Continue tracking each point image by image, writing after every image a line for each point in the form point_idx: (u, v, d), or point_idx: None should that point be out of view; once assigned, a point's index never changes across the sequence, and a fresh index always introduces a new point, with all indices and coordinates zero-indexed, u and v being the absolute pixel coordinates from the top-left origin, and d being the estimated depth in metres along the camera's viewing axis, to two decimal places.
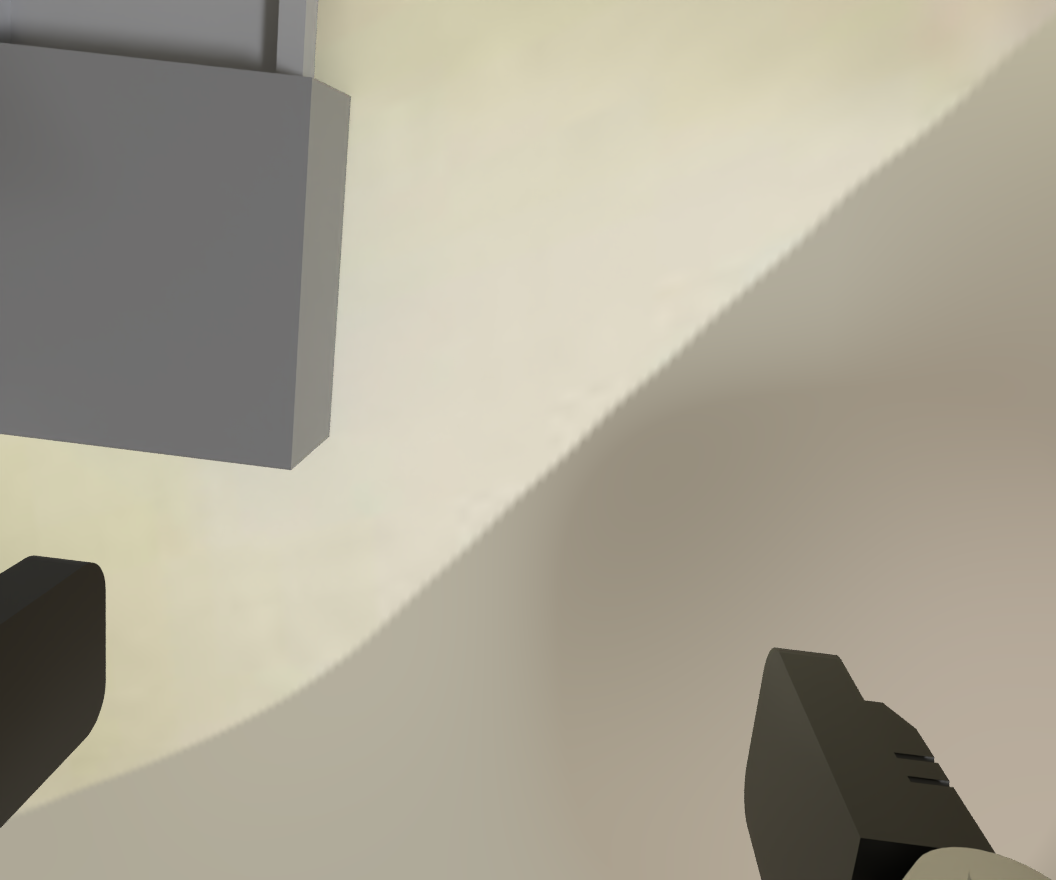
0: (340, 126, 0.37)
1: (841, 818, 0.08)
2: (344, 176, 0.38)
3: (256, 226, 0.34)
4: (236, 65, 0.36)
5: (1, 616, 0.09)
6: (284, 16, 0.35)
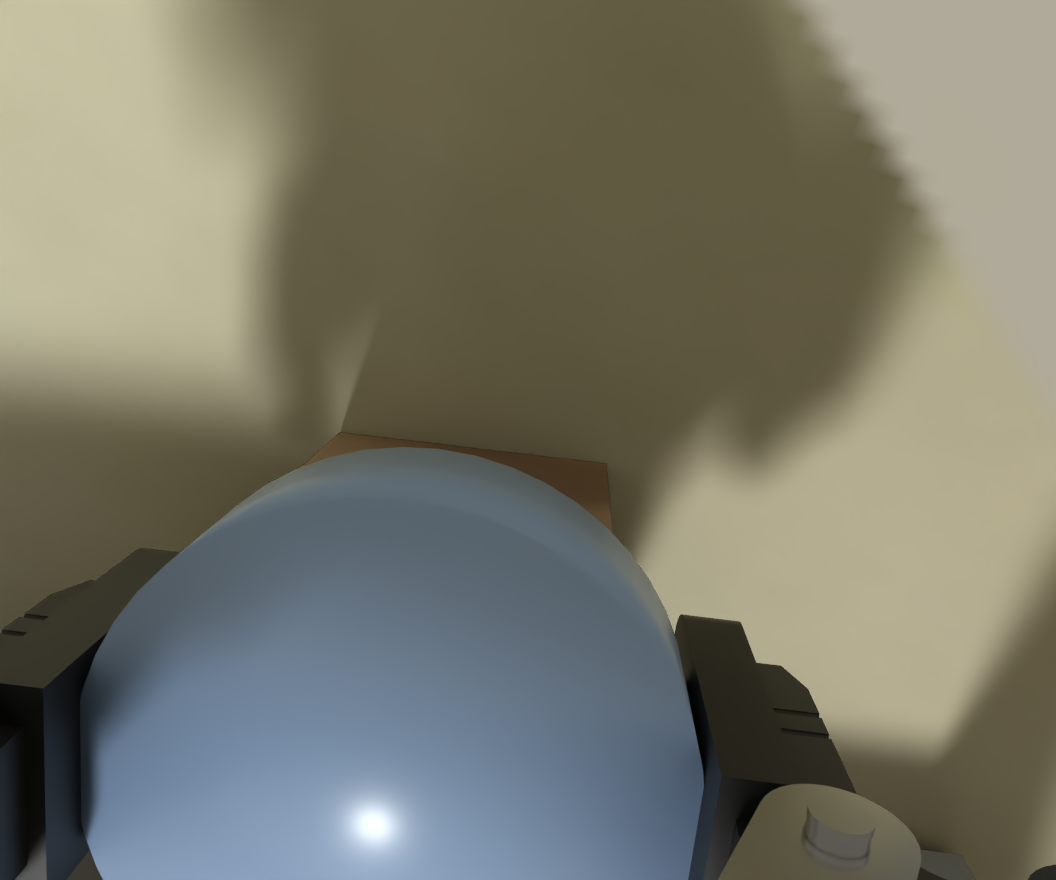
0: None
1: (711, 762, 0.09)
2: None
3: None
4: None
5: None
6: None
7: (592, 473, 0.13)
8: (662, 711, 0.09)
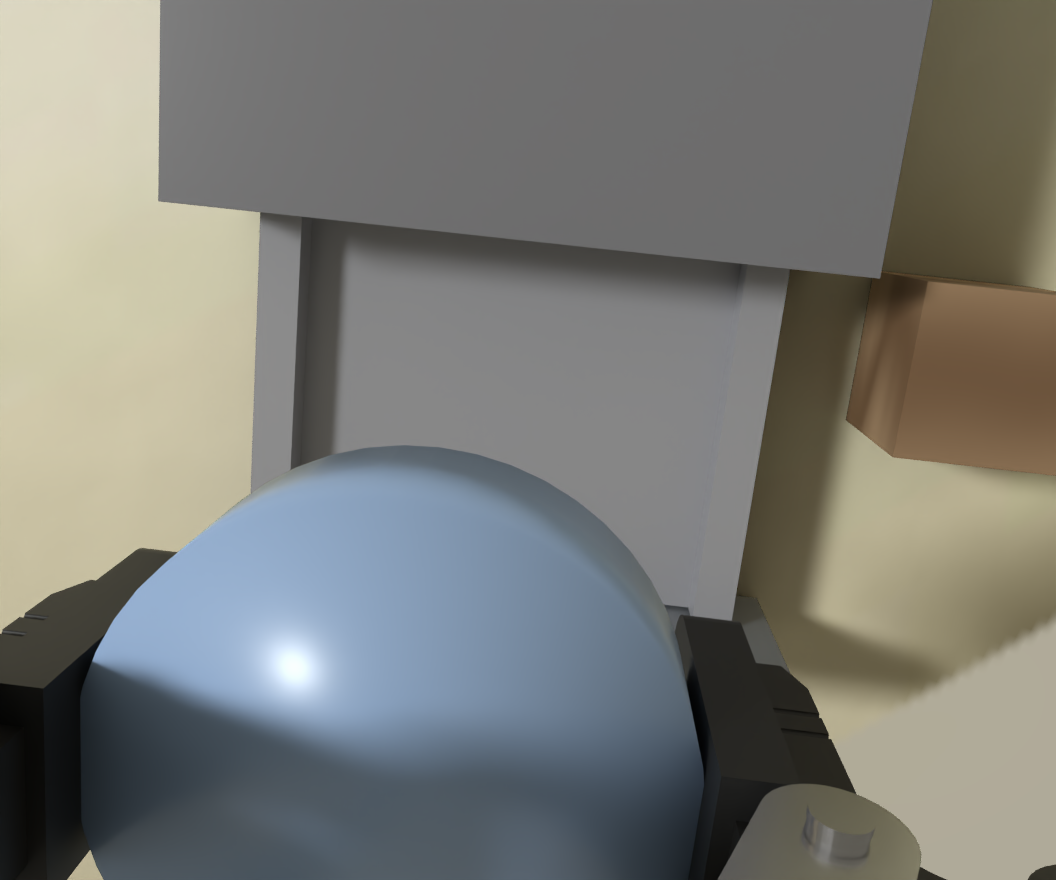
0: None
1: (711, 762, 0.09)
2: None
3: None
4: (384, 240, 0.24)
5: None
6: (288, 307, 0.23)
7: None
8: (662, 709, 0.09)
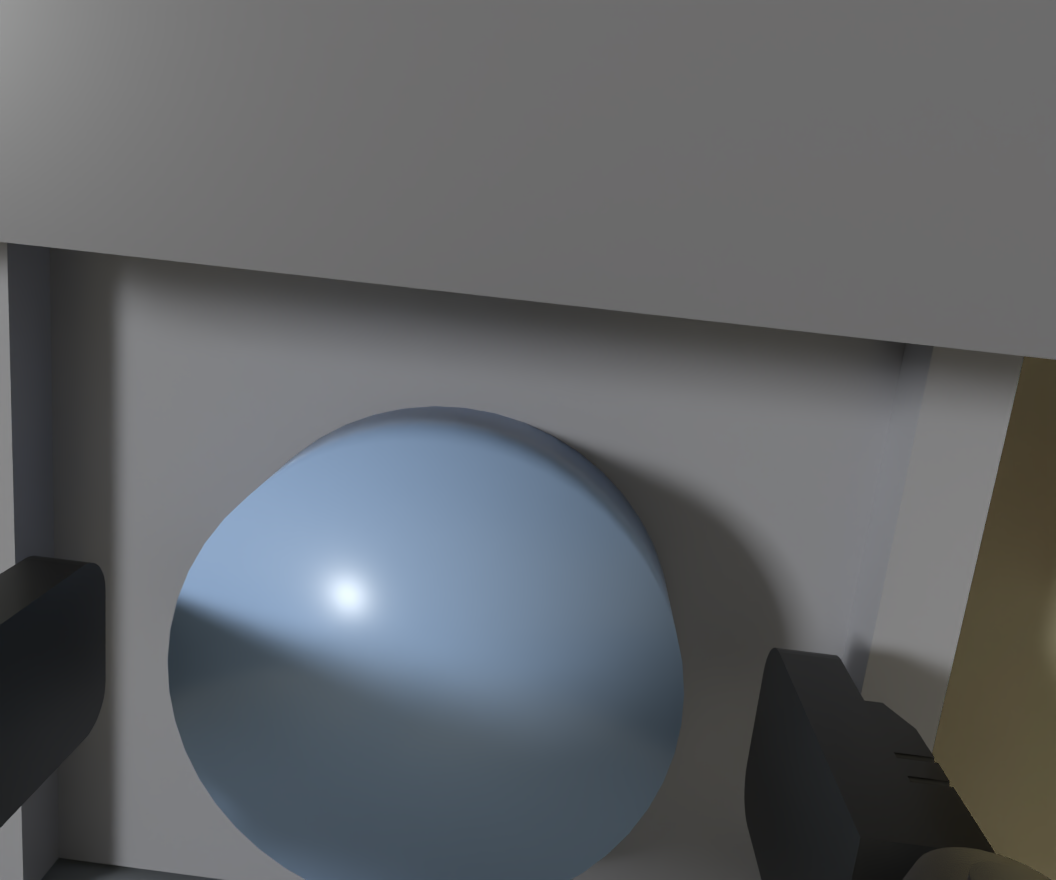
0: None
1: (839, 818, 0.08)
2: None
3: None
4: (193, 274, 0.12)
5: (2, 616, 0.09)
6: None
7: None
8: (649, 613, 0.11)
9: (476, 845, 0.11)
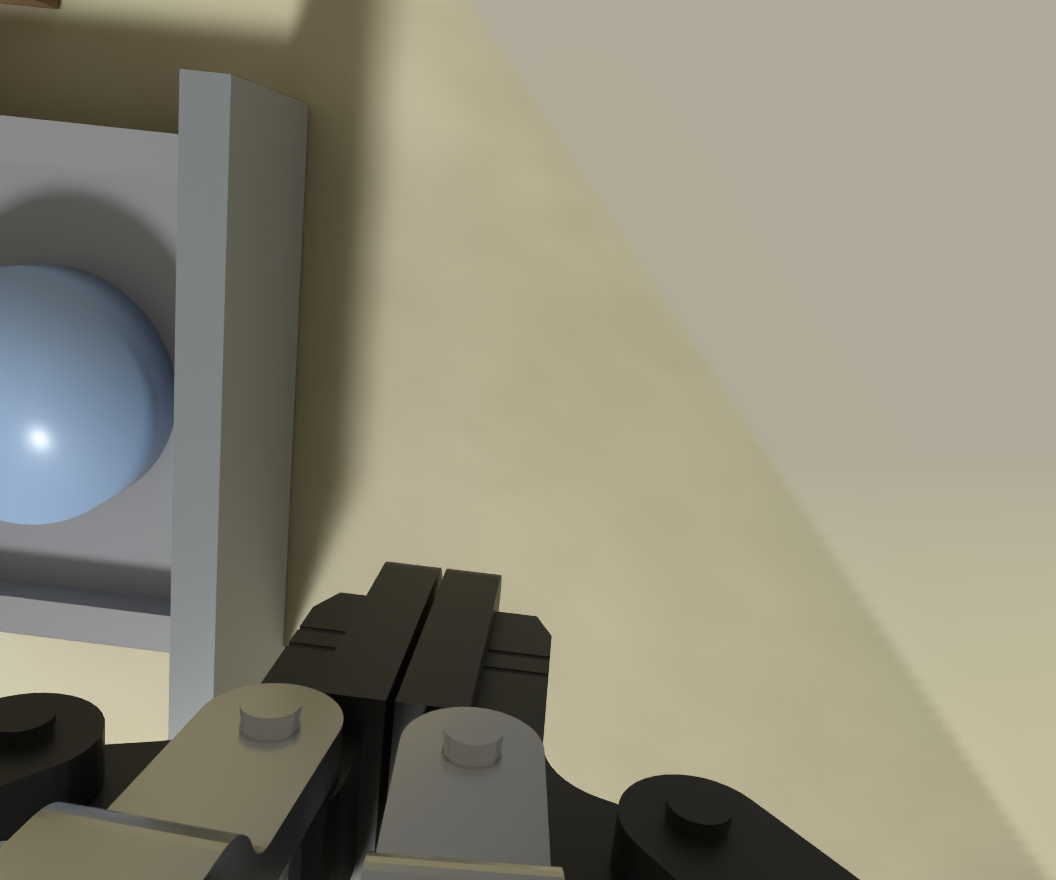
0: None
1: (402, 692, 0.09)
2: None
3: None
4: None
5: (411, 618, 0.10)
6: None
7: None
8: None
9: (97, 373, 0.22)
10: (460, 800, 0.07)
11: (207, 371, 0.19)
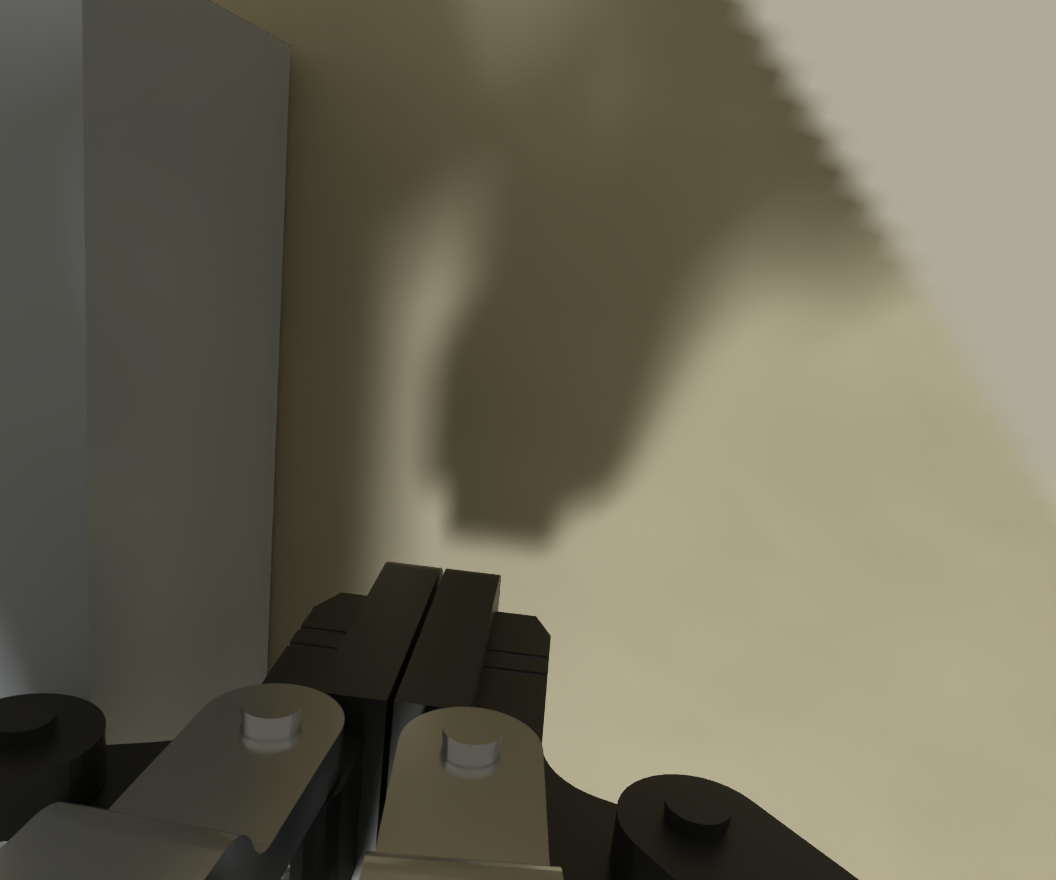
0: None
1: (401, 692, 0.09)
2: None
3: None
4: None
5: (412, 618, 0.10)
6: None
7: None
8: None
9: None
10: (459, 799, 0.07)
11: (53, 635, 0.09)
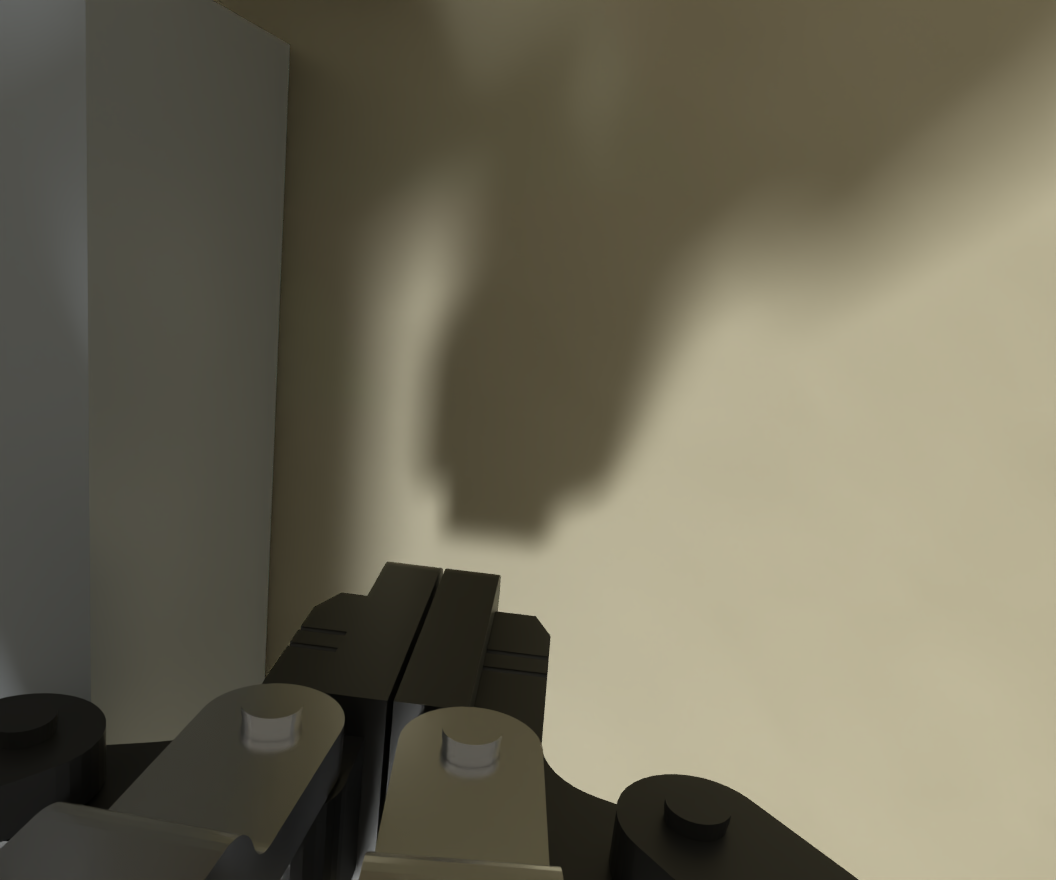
0: None
1: (402, 692, 0.09)
2: None
3: None
4: None
5: (412, 618, 0.10)
6: None
7: None
8: None
9: None
10: (459, 799, 0.07)
11: (55, 634, 0.08)
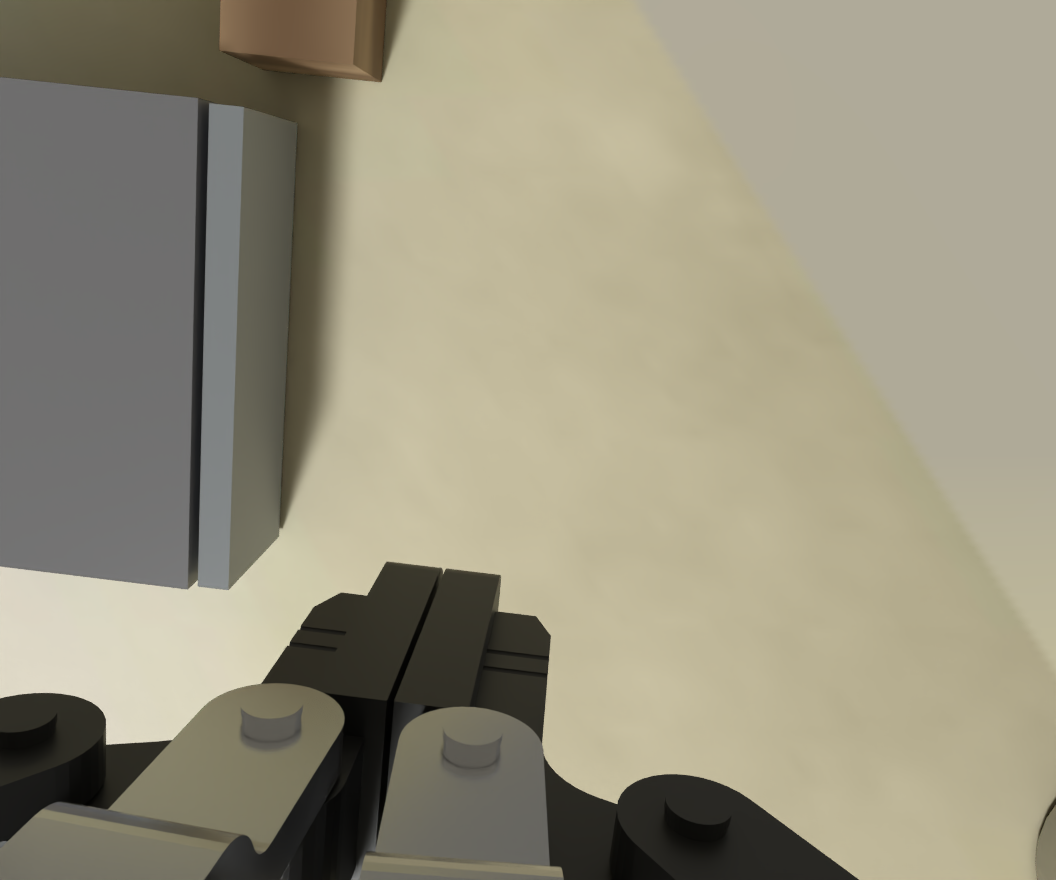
0: None
1: (402, 692, 0.09)
2: None
3: (28, 520, 0.30)
4: None
5: (412, 618, 0.10)
6: None
7: None
8: None
9: None
10: (459, 799, 0.07)
11: (226, 309, 0.28)
